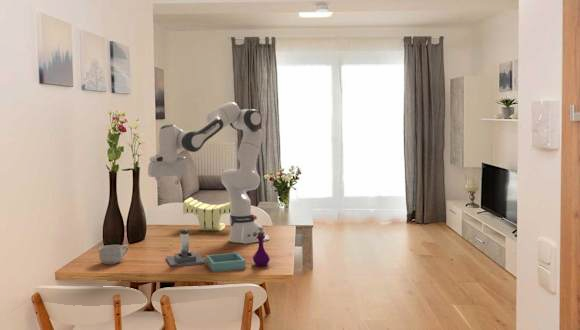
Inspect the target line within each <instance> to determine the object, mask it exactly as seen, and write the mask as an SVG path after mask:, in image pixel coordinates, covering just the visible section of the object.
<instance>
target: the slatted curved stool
mask: <svg viewBox="0 0 580 330" xmlns="http://www.w3.org/2000/svg"><path fill="white" fill-rule="evenodd" d="M182 212H183V215H185V214H193V215H195V216H197V220H198V223H199V231H218V232H219V231H220V232H221V231H222V230H224V228H226V227H225V226H226V224H225V222H224V223H223V222H220V221H221V217H222V216H223V215H225V214H228V215H229V214H230V215H231V205H230V201H229V202H226V203H223V204H222V203H221V204H210V203H206V202H205V203H203V202H202V201H199V200H197V199H194V197H191V196H190V197H188V198H187V199H185V200H184V201H183V204H182Z"/></svg>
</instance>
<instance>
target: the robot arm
mask: <svg viewBox="0 0 580 330" xmlns="http://www.w3.org/2000/svg"><path fill="white" fill-rule="evenodd" d="M238 105H239V104H237V103H236V102H233V101H228V102H226V103H223V104H220V105H219V106H217V107H215V108H214V109H212V110H211V111H210V112H209V113H207V116H206V123H207V124H205V125H204V126H203V127H201V128H200V129H199V130H196V131H185V130H183V129H181V128H179V127H177V126H176V124H165V125H162V126H161V127H160V129H159V132H158V133H159V134H158V145H159V150H158V153H157V154H155V155H152V156H150V157H149V161H150V162H149V163H148V165H147V166H148V167H147V174H148V176H149V177H151V178H155V181H156V182H157V186H158V187H162V184H163V182H162V181H161V180H160V178H162V177H174V176H176V178H177V179H176V180H174V184H175V185H176V186H177V185H180V181H181V179H182V176H187V175H188V173H189V168H188V158H187V157H185V156H178V150H180V151H186V152H190V153H196V152H198V151H200V150H201V149H202V147H204V145H205V143H206V142H207V141H208V140H209V139H211V138H212V137H213V136H215V135H216V134H217V133H219V132H220V131H221V130H223V129H225V128H226V127H228V126H230V127H231V128H232V129H234V130H236V131H240V130H241V131H242V138H241V141H240V144H239V147H238V148H239V149H238V150H237V154H236V157H237V160H238V161H239V168H228V169H225V170H223V172H222V173H221V176H220V181H221V184H222V185H223V186H224V187H225V189H226V191H227V193H228V199H229V202H230V205H231V214H230V215H229V224H230V231H229V237H228V242H230V243H236V244H238V243H239V244H245V245H246V244H253V243H259V240H258V238H256V237H257V236H258V233H259V232H260V231H259V229H258V228H259V227H263V226H262V225H261V224H260V223H258V222H257V221H256V220H257V219H258V216H257V215H254V214H252V201H251V198H250V197H249V196H248V194H247V192H248V191H254V190H255V191H256V189H258V188H259V186H260V183H261V178H260V175H259V173H258V171H257V162H258V157H259V153H260V150H261V147H262V144H263V143H262V142H263V134H264V133H263V131H262V130H261V128H262V122H263V119H262V118H263V117H262V113H261V112H260V111H259V110H257V109H253V108H249V109H247V108H245V109H240V107H239V106H238ZM262 232H264V236H265V238H264V239H263V242H266V241H270V236H269V235H268V234H266V230H265V228H263V230H262Z"/></svg>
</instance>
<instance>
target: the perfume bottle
mask: <svg viewBox="0 0 580 330" xmlns="http://www.w3.org/2000/svg"><path fill="white" fill-rule="evenodd" d="M263 228H264V227H263V226H262V227H259V228H258V229H259V231H260V232H259V233H258V236H257V237H256V238H258V240H259V242H258V247H257V250H256V252H255V253H254V255H252V259H253V262H254V264H255V266H256V267H266V266H267V265H268V264H269V262H270V259H271V258H270V255H269V254H268V253H267V251H266V250H265V248H264V241H263V239H264V238H265V236H264V232H262V230H263ZM264 229H265V228H264Z"/></svg>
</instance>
